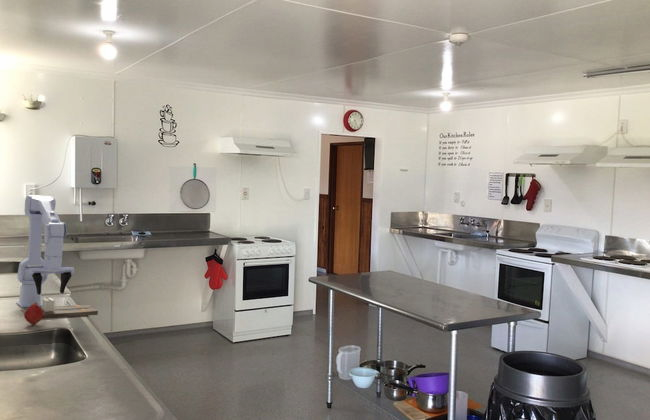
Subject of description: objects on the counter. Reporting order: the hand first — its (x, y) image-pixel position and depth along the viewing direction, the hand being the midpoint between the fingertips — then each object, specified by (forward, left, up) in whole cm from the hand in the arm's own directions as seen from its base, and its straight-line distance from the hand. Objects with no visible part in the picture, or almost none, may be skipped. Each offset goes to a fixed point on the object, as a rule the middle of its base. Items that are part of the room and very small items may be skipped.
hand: (50, 293), depth 200 cm
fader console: (-10, +8, -10) cm, 17 cm away
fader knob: (-10, +2, -8) cm, 13 cm away
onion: (+4, -6, -10) cm, 12 cm away
